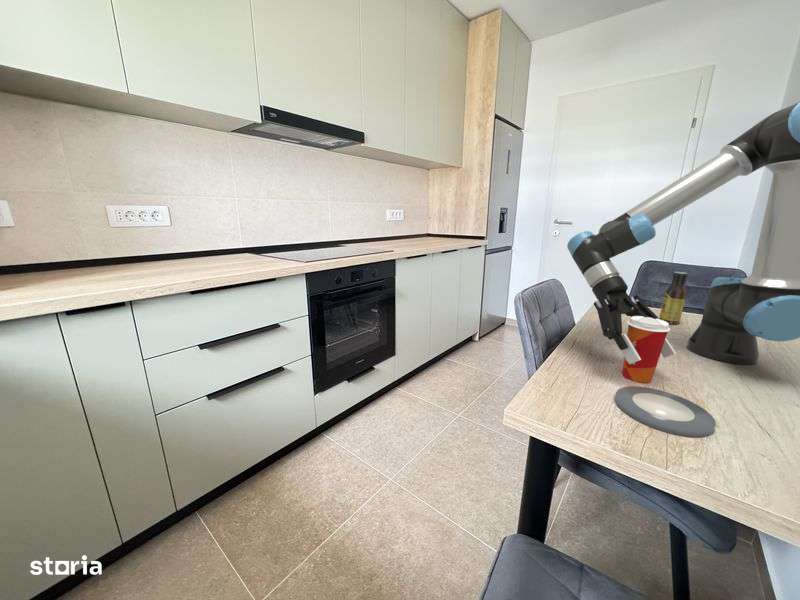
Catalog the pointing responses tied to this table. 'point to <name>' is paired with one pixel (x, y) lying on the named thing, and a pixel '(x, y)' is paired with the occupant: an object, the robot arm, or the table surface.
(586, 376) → the table surface
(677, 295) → the sauce bottle
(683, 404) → the saucer
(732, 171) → the robot arm
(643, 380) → the coffee cup
